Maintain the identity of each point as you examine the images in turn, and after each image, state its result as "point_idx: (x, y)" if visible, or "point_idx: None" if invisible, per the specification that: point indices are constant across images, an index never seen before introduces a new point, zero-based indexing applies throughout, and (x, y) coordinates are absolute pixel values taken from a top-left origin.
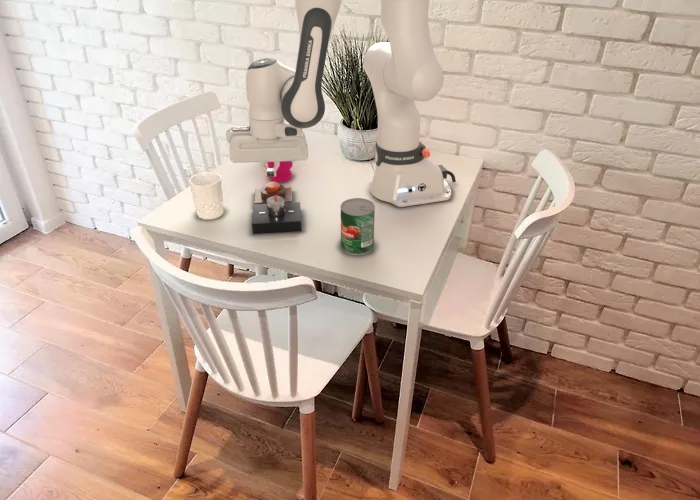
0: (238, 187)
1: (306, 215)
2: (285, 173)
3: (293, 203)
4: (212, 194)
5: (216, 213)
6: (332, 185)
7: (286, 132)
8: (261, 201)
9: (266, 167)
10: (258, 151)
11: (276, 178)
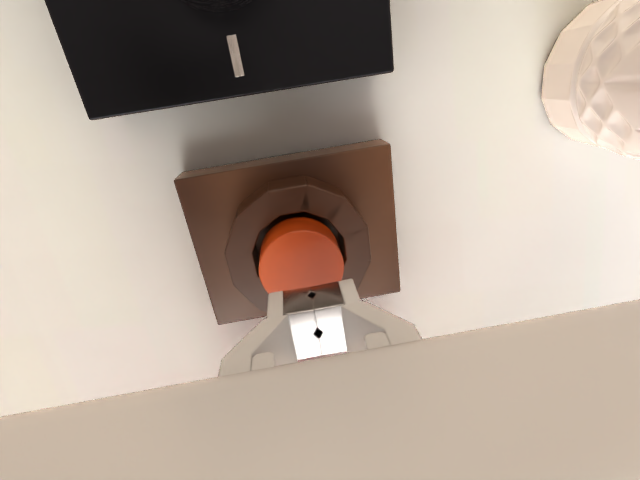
0: (473, 328)
1: (67, 73)
2: None
3: (125, 93)
4: None
5: (596, 10)
6: (43, 390)
7: None
8: (352, 163)
9: (354, 350)
10: (512, 455)
11: None
